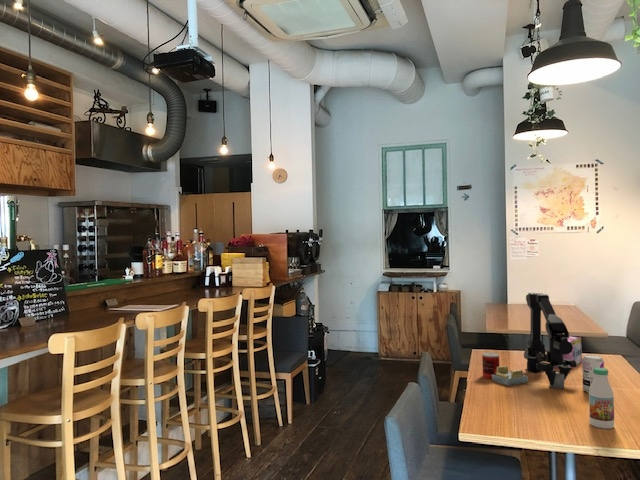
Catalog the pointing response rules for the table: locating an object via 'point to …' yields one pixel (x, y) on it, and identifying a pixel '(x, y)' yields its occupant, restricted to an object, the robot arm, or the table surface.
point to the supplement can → (590, 369)
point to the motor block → (509, 376)
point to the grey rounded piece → (558, 381)
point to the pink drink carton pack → (574, 350)
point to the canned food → (490, 364)
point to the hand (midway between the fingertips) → (556, 384)
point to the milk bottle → (601, 400)
